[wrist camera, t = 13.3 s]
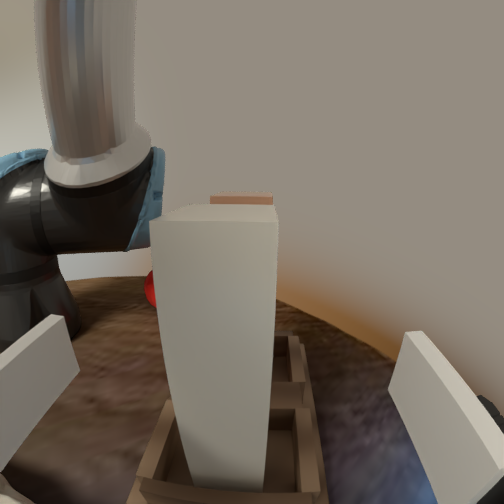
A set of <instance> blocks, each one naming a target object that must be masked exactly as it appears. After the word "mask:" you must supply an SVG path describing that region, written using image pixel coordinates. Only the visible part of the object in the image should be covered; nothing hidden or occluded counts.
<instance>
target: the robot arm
mask: <svg viewBox="0 0 504 504" xmlns="http://www.w3.org/2000/svg"><path fill="white" fill-rule="evenodd" d="M136 5H137V0H34V22H35V40H36V53H37V62H38V71H39V78H40V85H41V91H42V97H43V103H44V108H45V113H46V118H47V123H48V128H49V132H50V136H51V140H52V144H53V145H52V146H51V148H50V150H49V151H48V150H46V149H30V150H25V151H22V152H19V153H12V154H9V155H5V156H3V157H0V352H1V354H0V472H1V471H2V470H3V469H4V467H5V466H6V464H7V463H8V462H9V460H10V459H11V458H12V456H13V455H14V453H15V452H16V451H17V449H18V448H19V447H20V445H21V444H22V443H23V441H24V440H25V439H26V437H27V436H28V435H29V433H30V432H31V431H32V430H33V428H34V427H35V426H36V424H37V423H38V422H39V421H40V419H41V418H42V417H43V415H44V414H45V413H46V412H47V410H48V409H49V408H50V407H51V405H52V404H53V403H54V402H55V400H56V399H57V398H58V397H59V396H60V394H61V393H62V392H63V391H64V389H65V388H66V387H67V386H68V385H69V383H70V382H71V381H72V380H73V379H74V377H75V376H76V375H77V374H78V373H79V371H80V369H79V366H78V363H77V360H76V357H75V354H74V351H73V347H72V344H71V341H70V339H71V338H72V337H73V336H74V335H75V334H76V333H77V332H78V330H79V328H80V326H81V316H80V312H79V307H78V305H77V302H76V301H75V299H74V297H73V295H72V293H71V291H70V289H69V287H68V286H67V284H66V282H65V280H64V278H63V276H62V274H61V272H60V269H59V264H58V258H57V255H58V254H76V253H95V252H118V251H123V252H127V251H129V250H133V249H140V248H148V247H150V246H151V245H150V229H149V221H151V220H153V219H155V218H158V217H160V216H161V213H162V194H163V185H164V173H165V152H164V150H163V149H161V148H157V147H151V138H150V135H149V133H148V131H147V130H146V129H145V128H144V127H143V126H141V125H139V124H138V123H136V122H135V107H134V40H135V20H136ZM388 391H389V393H390V395H391V397H392V399H393V401H394V403H395V405H396V407H397V409H398V412H399V414H400V416H401V418H402V420H403V422H404V424H405V426H406V429H407V431H408V433H409V435H410V437H411V440H412V442H413V444H414V446H415V449H416V451H417V453H418V456H419V458H420V460H421V463H422V465H423V467H424V470H425V472H426V474H427V477H428V479H429V482H430V484H431V487H432V489H433V492H434V494H435V497H436V499H437V502H438V504H476V503H477V504H504V418H503V416H502V415H501V416H500V412H499V411H498V410H497V408H496V407H495V406H494V404H493V403H492V402H490V401H489V400H487V399H486V398H485V397H483V396H482V395H479V396H475V394H474V393H473V392H472V390H471V389H470V388H469V387H468V385H467V384H466V383H465V381H464V380H463V379H462V378H461V377H460V375H459V374H458V373H457V372H456V370H455V369H454V368H453V367H452V365H451V364H450V363H449V362H448V361H447V359H446V358H445V357H444V356H443V354H442V353H441V352H440V351H439V350H438V349H437V347H436V346H435V345H434V344H433V343H432V342H431V340H430V339H429V338H428V337H427V336H426V335H425V334H424V332H423V331H413V332H405V335H404V339H403V342H402V346H401V349H400V353H399V356H398V360H397V363H396V366H395V369H394V372H393V376H392V379H391V382H390V385H389V387H388Z"/></svg>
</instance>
